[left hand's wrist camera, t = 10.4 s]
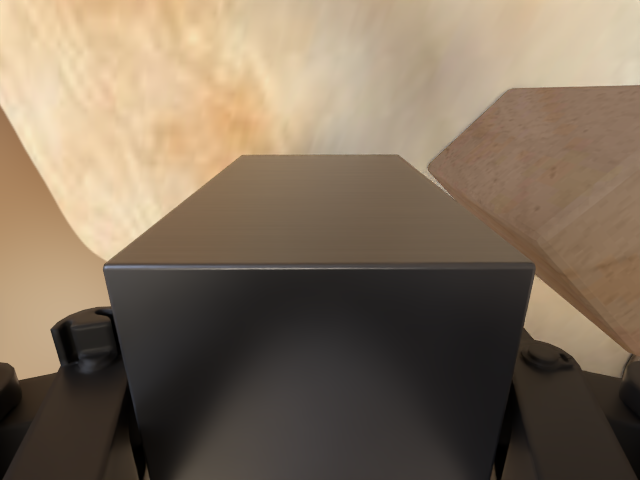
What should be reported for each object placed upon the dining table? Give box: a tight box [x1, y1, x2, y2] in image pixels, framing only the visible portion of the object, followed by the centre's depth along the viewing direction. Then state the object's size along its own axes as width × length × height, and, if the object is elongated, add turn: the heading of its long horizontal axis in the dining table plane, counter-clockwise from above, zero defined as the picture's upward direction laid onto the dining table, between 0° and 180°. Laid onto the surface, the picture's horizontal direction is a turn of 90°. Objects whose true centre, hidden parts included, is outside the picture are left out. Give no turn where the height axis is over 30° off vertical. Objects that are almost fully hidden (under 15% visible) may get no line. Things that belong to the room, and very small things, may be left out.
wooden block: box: [428, 85, 640, 356], centre depth 28 cm, size 10×10×20 cm
